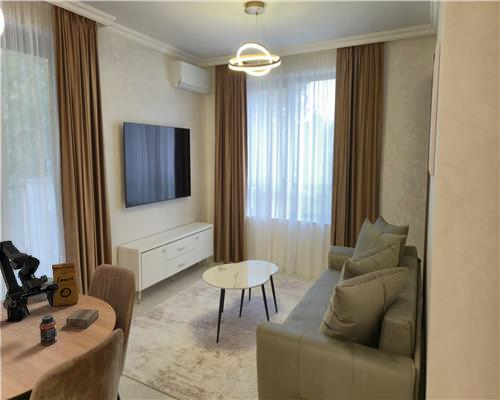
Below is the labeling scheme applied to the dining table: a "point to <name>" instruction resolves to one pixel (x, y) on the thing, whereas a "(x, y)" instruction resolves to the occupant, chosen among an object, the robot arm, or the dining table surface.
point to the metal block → (82, 318)
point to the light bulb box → (43, 296)
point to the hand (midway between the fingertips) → (41, 311)
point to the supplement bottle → (48, 330)
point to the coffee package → (65, 284)
